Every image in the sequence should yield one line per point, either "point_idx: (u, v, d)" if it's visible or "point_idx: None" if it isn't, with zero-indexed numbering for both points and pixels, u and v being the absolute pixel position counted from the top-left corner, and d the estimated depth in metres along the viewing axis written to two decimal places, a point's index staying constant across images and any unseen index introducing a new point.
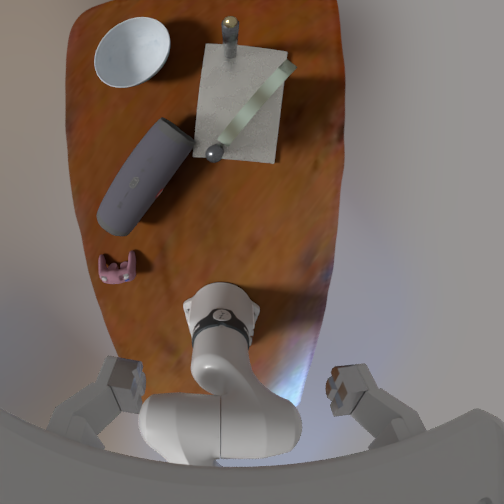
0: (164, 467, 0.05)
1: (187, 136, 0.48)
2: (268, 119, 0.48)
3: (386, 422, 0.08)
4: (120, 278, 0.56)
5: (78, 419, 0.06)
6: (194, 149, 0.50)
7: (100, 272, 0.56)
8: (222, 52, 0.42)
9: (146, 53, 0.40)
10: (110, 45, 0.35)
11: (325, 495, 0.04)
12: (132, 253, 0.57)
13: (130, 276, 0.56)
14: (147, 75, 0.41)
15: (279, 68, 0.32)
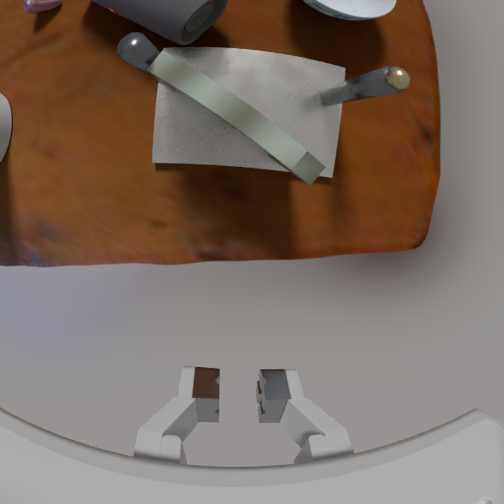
0: (164, 467, 0.05)
1: (194, 36, 0.25)
2: (219, 148, 0.33)
3: None
4: None
5: (171, 438, 0.06)
6: (174, 48, 0.26)
7: None
8: (330, 87, 0.30)
9: None
10: None
11: (325, 495, 0.04)
12: (56, 3, 0.18)
13: (28, 7, 0.15)
14: None
15: (305, 153, 0.20)
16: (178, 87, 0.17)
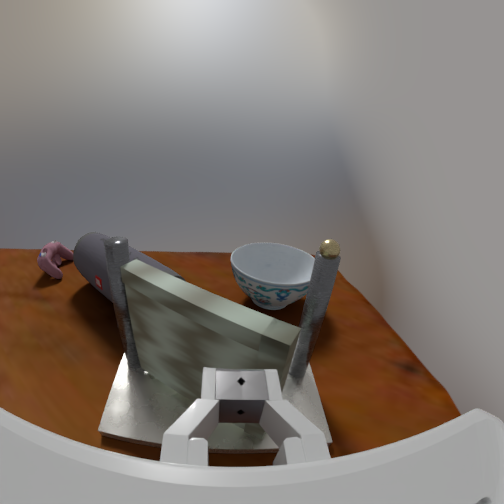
0: (164, 467, 0.05)
1: None
2: None
3: None
4: (45, 250, 0.44)
5: (197, 441, 0.07)
6: None
7: (60, 243, 0.49)
8: None
9: None
10: (284, 260, 0.52)
11: (325, 495, 0.04)
12: (59, 273, 0.44)
13: (41, 258, 0.42)
14: None
15: (273, 320, 0.18)
16: (143, 278, 0.21)
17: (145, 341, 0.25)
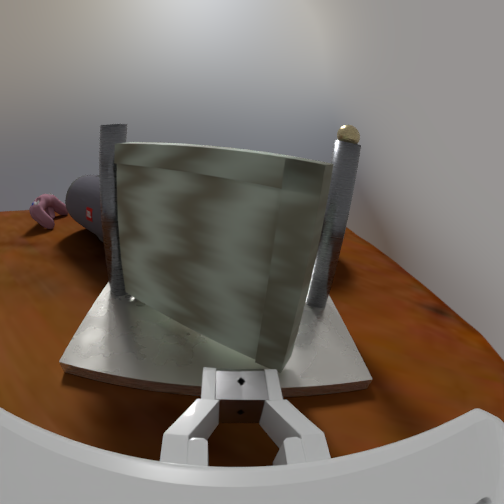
0: (164, 467, 0.05)
1: None
2: (169, 360, 0.18)
3: None
4: (38, 199, 0.40)
5: (197, 441, 0.07)
6: None
7: None
8: None
9: None
10: None
11: (325, 495, 0.04)
12: (51, 222, 0.40)
13: (33, 206, 0.38)
14: None
15: (297, 157, 0.14)
16: (139, 143, 0.17)
17: (132, 243, 0.21)
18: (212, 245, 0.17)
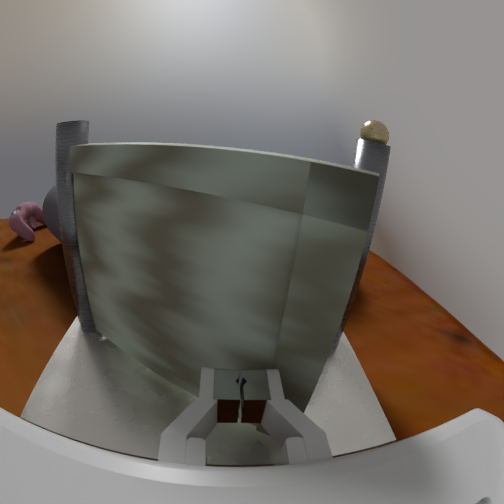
0: (164, 467, 0.05)
1: None
2: (146, 426, 0.13)
3: None
4: (18, 208, 0.34)
5: (195, 440, 0.07)
6: None
7: (37, 205, 0.39)
8: None
9: None
10: None
11: (325, 495, 0.04)
12: (31, 234, 0.34)
13: (13, 216, 0.32)
14: None
15: (324, 161, 0.09)
16: (96, 144, 0.12)
17: (96, 275, 0.15)
18: (194, 291, 0.11)
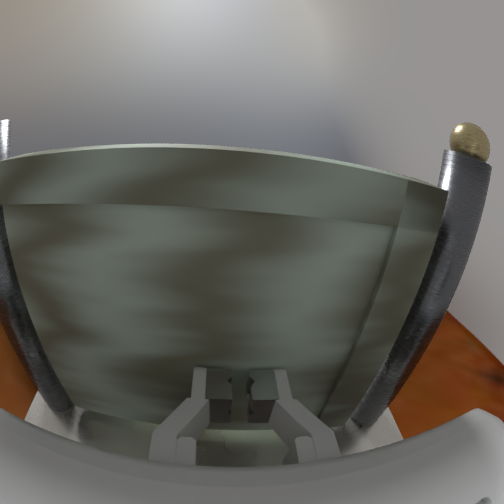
0: (164, 467, 0.05)
1: None
2: None
3: None
4: None
5: (186, 440, 0.07)
6: None
7: None
8: None
9: None
10: None
11: (325, 495, 0.04)
12: None
13: None
14: None
15: (382, 170, 0.09)
16: (54, 153, 0.06)
17: (69, 347, 0.09)
18: (257, 330, 0.09)
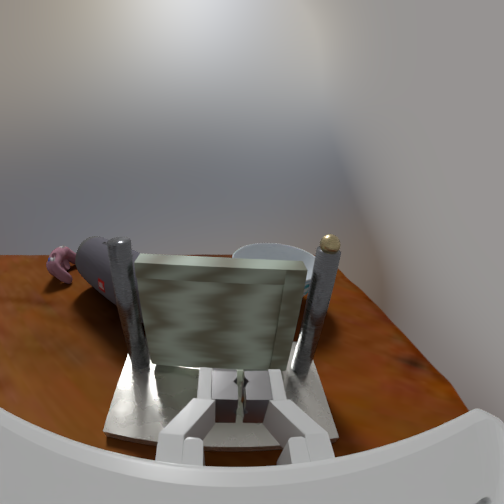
0: (164, 467, 0.05)
1: None
2: None
3: None
4: (53, 254, 0.45)
5: (193, 440, 0.07)
6: (144, 337, 0.34)
7: (68, 248, 0.50)
8: None
9: None
10: None
11: (325, 495, 0.04)
12: (69, 278, 0.45)
13: (50, 262, 0.43)
14: None
15: (283, 261, 0.26)
16: (166, 263, 0.24)
17: (161, 330, 0.27)
18: (238, 319, 0.27)
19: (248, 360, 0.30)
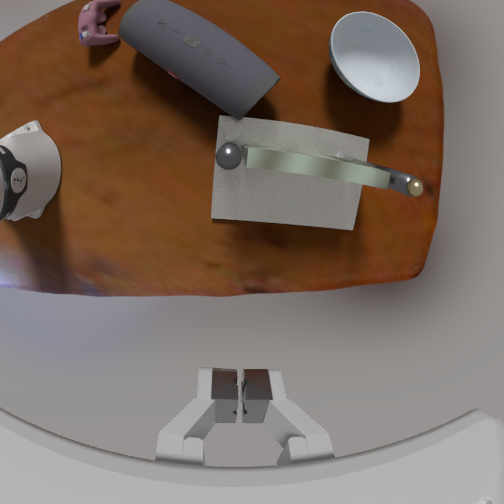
0: (164, 467, 0.05)
1: None
2: (268, 209, 0.43)
3: None
4: (84, 27, 0.24)
5: (193, 440, 0.07)
6: (229, 117, 0.36)
7: (96, 1, 0.22)
8: (356, 157, 0.40)
9: (366, 70, 0.34)
10: (387, 34, 0.28)
11: (325, 495, 0.04)
12: (115, 39, 0.28)
13: (85, 39, 0.25)
14: None
15: (376, 171, 0.27)
16: (278, 169, 0.26)
17: None
18: None
19: None
